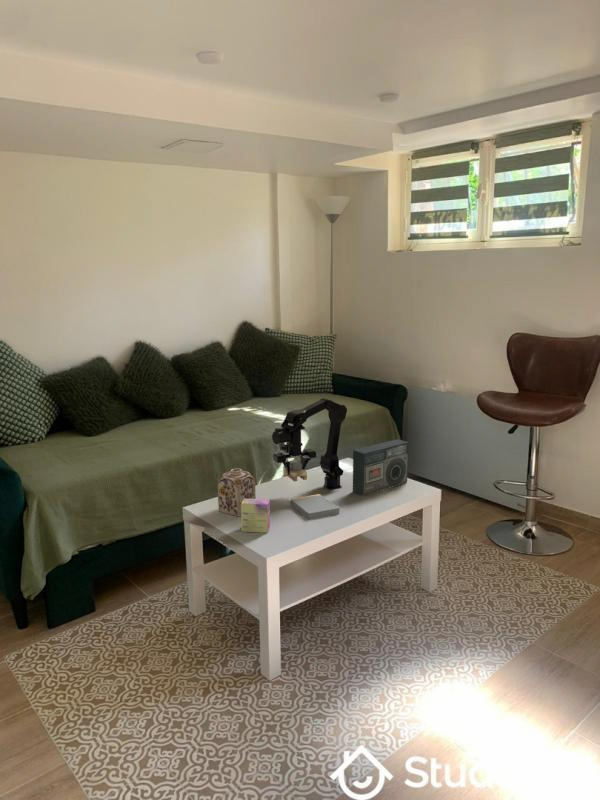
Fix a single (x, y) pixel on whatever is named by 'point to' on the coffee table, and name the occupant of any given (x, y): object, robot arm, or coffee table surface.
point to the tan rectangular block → (296, 474)
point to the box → (255, 515)
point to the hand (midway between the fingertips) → (294, 474)
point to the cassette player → (380, 466)
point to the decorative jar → (235, 491)
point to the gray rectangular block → (295, 465)
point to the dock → (314, 506)
